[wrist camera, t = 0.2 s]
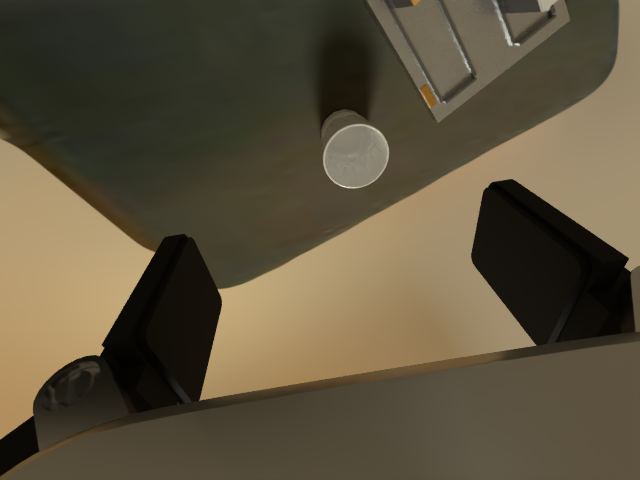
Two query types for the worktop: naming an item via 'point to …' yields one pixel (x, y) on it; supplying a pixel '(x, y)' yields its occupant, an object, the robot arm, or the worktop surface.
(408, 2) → the block
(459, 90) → the console
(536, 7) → the fader
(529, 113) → the worktop surface
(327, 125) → the white cup
